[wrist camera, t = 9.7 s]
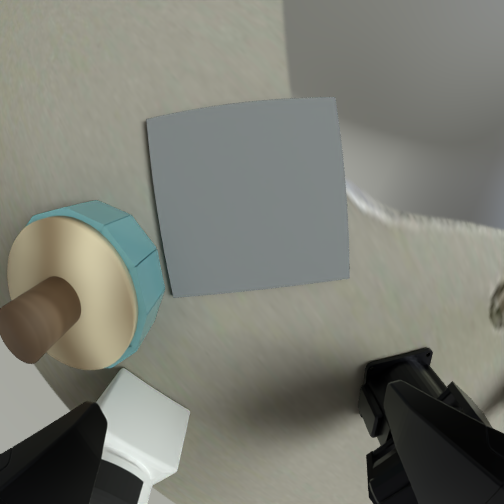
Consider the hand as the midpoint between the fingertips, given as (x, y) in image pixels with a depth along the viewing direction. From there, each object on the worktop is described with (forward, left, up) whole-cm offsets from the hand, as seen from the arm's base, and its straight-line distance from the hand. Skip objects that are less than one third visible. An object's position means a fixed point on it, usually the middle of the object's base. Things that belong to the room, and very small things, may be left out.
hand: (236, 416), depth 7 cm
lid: (+11, -1, -8) cm, 14 cm away
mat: (-1, -5, -12) cm, 14 cm away
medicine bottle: (+11, +12, -13) cm, 21 cm away
